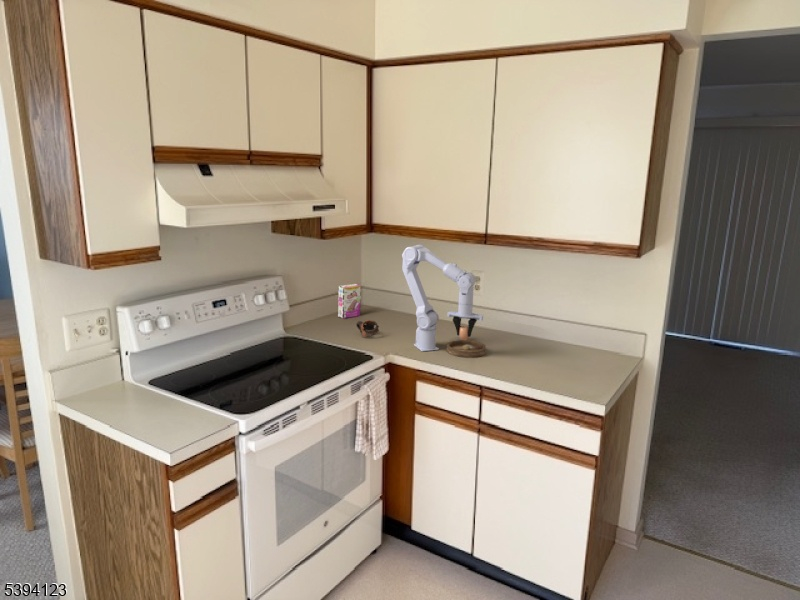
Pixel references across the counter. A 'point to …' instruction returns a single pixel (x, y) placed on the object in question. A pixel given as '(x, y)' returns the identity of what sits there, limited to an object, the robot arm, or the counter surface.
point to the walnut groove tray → (466, 348)
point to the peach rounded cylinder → (463, 333)
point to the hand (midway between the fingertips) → (464, 335)
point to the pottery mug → (367, 327)
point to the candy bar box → (349, 301)
